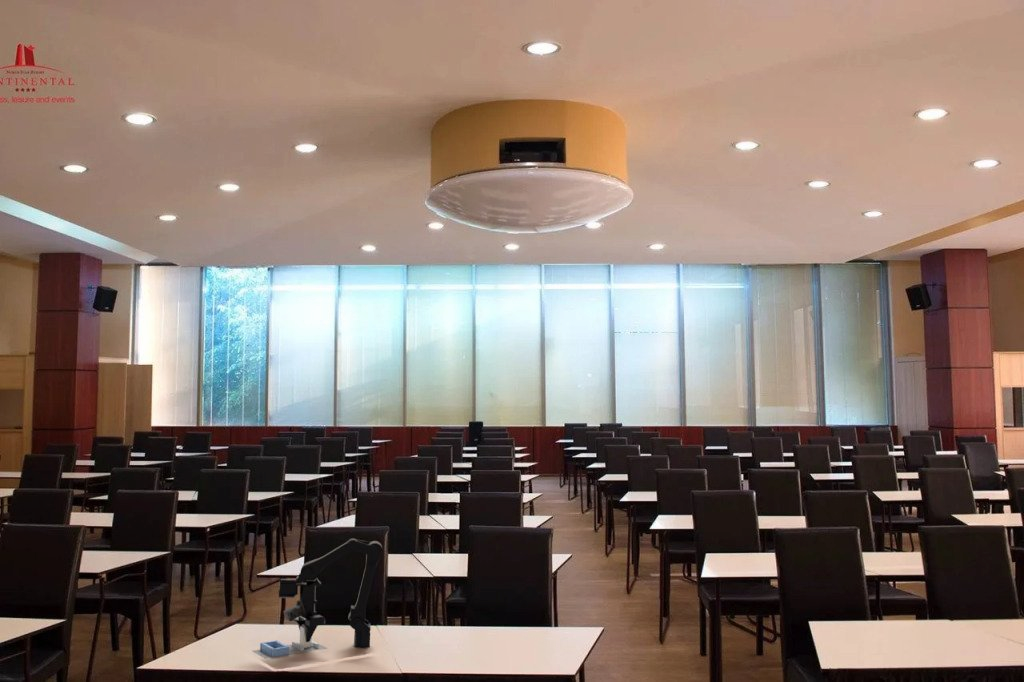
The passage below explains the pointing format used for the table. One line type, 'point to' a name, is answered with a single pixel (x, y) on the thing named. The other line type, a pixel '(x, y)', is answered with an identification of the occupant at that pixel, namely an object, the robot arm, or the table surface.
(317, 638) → the table surface
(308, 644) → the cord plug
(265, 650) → the board
